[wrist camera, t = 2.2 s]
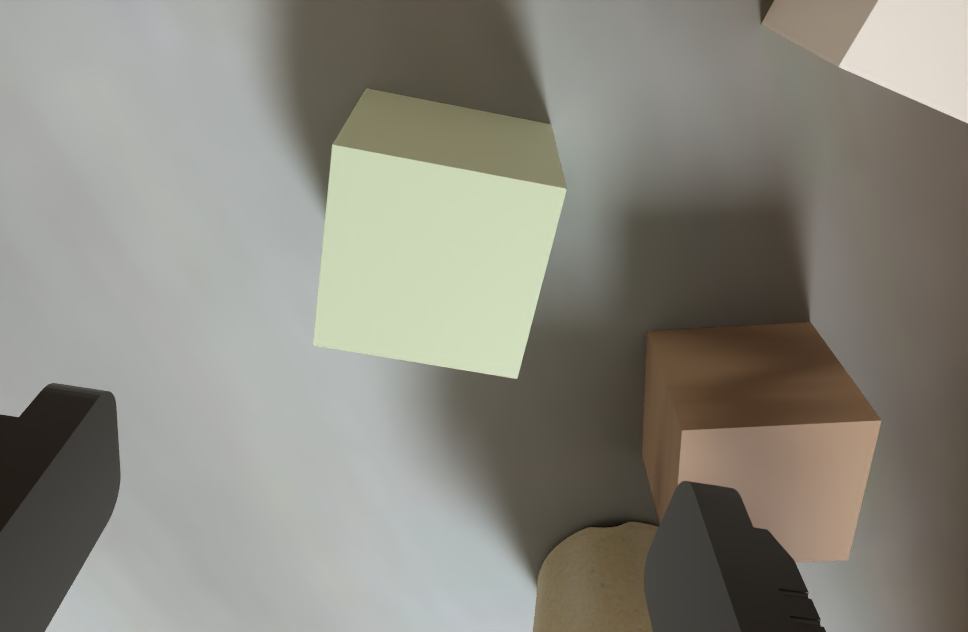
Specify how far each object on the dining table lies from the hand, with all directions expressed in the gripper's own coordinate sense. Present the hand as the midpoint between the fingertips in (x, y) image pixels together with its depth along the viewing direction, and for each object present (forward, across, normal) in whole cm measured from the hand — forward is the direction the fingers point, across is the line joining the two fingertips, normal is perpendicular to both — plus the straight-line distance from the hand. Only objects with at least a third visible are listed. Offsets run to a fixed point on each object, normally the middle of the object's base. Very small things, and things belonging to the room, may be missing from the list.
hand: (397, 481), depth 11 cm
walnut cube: (+12, -10, +5) cm, 17 cm away
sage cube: (+12, 0, 0) cm, 12 cm away
